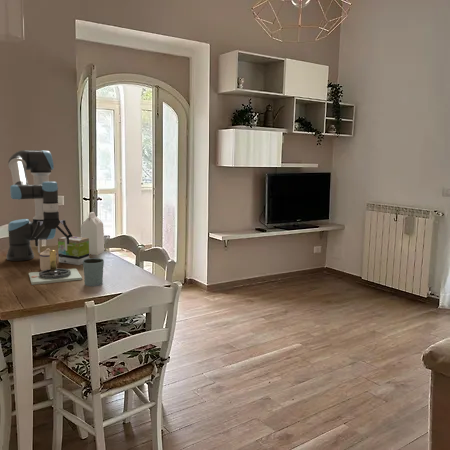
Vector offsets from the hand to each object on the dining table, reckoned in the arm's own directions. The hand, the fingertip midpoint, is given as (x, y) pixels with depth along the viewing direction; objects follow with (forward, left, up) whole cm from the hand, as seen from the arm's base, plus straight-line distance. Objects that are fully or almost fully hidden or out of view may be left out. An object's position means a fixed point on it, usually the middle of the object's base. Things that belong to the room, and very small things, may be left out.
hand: (52, 251), depth 248 cm
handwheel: (+6, 0, -11) cm, 13 cm away
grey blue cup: (+27, +16, -13) cm, 34 cm away
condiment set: (-13, -1, -13) cm, 18 cm away
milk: (-46, +29, -13) cm, 56 cm away
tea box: (-23, +14, -13) cm, 30 cm away
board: (+7, 0, -12) cm, 14 cm away
